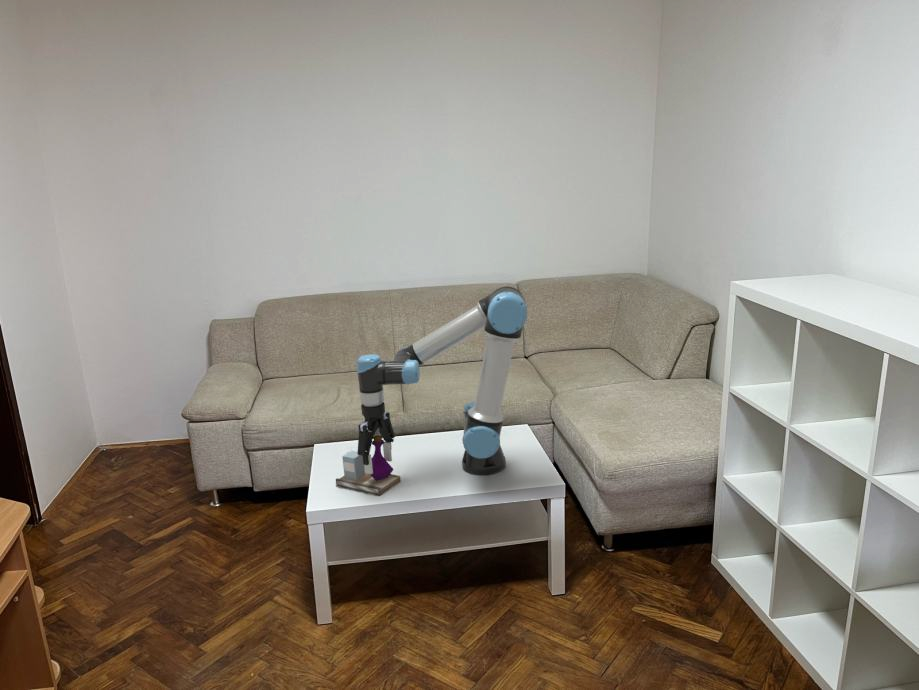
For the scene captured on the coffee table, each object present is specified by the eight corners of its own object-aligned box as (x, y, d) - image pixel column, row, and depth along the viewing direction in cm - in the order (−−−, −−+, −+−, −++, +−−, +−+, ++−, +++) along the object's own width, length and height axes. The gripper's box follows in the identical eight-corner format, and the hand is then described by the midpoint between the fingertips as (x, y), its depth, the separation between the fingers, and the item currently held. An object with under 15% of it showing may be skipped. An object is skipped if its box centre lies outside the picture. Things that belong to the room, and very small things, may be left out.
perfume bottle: (394, 478, 236) (389, 427, 232) (373, 484, 233) (368, 432, 229) (386, 470, 243) (381, 420, 238) (365, 476, 240) (360, 425, 235)
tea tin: (365, 474, 244) (363, 452, 242) (356, 480, 239) (353, 458, 237) (354, 472, 246) (351, 450, 244) (344, 478, 242) (342, 456, 240)
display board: (400, 481, 242) (400, 474, 241) (379, 496, 232) (378, 488, 231) (358, 472, 251) (357, 465, 250) (336, 486, 241) (335, 479, 240)
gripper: (383, 390, 243) (389, 452, 248) (341, 412, 224) (348, 478, 230) (402, 393, 239) (407, 455, 244) (360, 415, 220) (366, 482, 226)
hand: (378, 466), depth 237 cm, fingers closed on perfume bottle, 10 cm apart
